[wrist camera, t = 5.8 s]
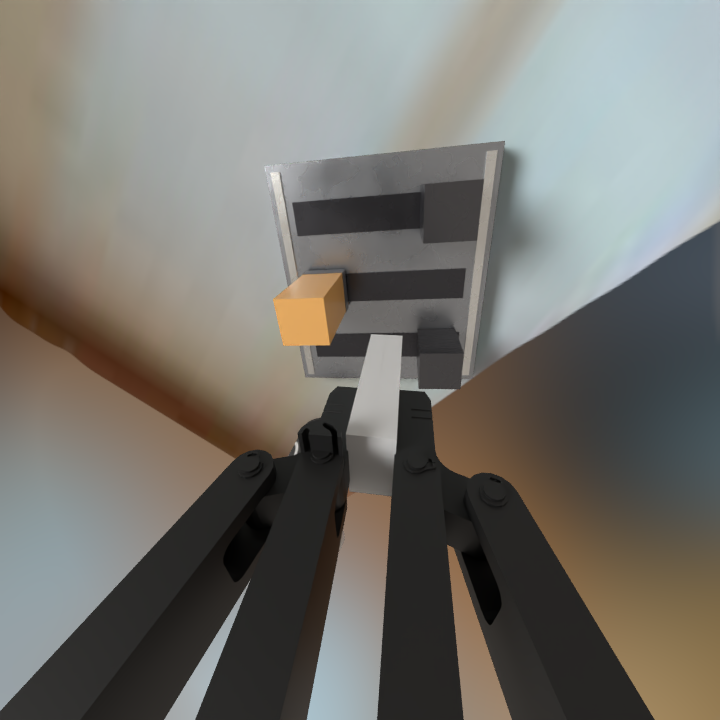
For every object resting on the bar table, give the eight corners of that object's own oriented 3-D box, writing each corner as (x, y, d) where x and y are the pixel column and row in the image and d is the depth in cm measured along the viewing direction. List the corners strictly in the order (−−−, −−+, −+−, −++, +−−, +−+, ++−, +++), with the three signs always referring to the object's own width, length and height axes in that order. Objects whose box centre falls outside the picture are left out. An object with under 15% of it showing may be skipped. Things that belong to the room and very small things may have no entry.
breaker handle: (305, 270, 27) (272, 298, 20) (344, 268, 26) (323, 296, 19) (312, 308, 28) (282, 346, 22) (348, 307, 28) (330, 345, 21)
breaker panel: (274, 167, 25) (232, 160, 19) (497, 144, 22) (532, 127, 16) (310, 368, 35) (290, 405, 29) (468, 368, 32) (484, 410, 26)
